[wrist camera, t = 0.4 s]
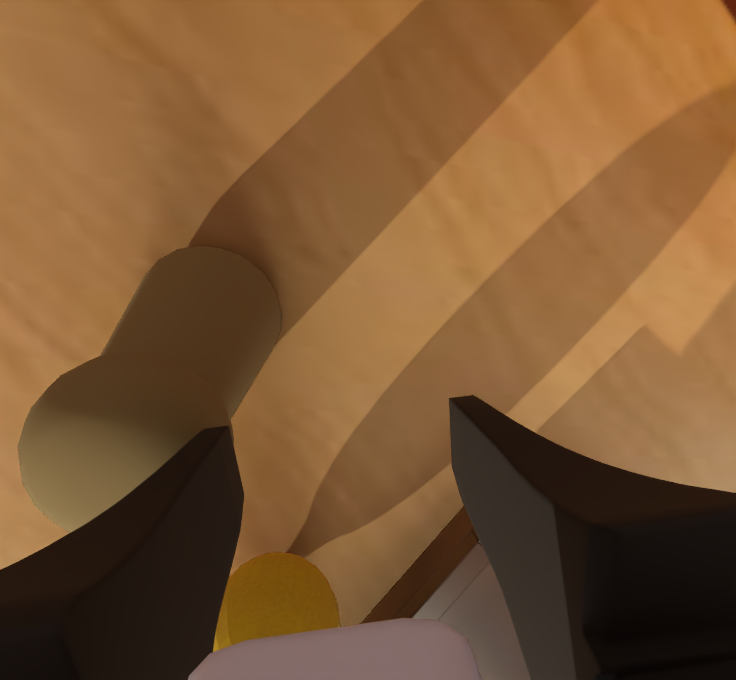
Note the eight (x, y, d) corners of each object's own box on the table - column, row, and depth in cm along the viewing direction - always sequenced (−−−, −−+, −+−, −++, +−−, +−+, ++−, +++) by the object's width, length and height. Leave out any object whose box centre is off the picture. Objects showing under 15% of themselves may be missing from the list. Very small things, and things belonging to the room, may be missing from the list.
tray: (491, 764, 30) (509, 817, 27) (325, 663, 27) (327, 711, 25) (635, 611, 29) (669, 651, 26) (476, 491, 26) (495, 521, 23)
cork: (123, 246, 21) (-71, 387, 11) (276, 244, 21) (220, 379, 11) (150, 378, 24) (12, 589, 14) (286, 375, 24) (248, 579, 14)
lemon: (249, 503, 25) (222, 627, 17) (354, 543, 26) (372, 676, 18) (204, 598, 26) (158, 758, 18) (307, 633, 27) (306, 799, 19)
